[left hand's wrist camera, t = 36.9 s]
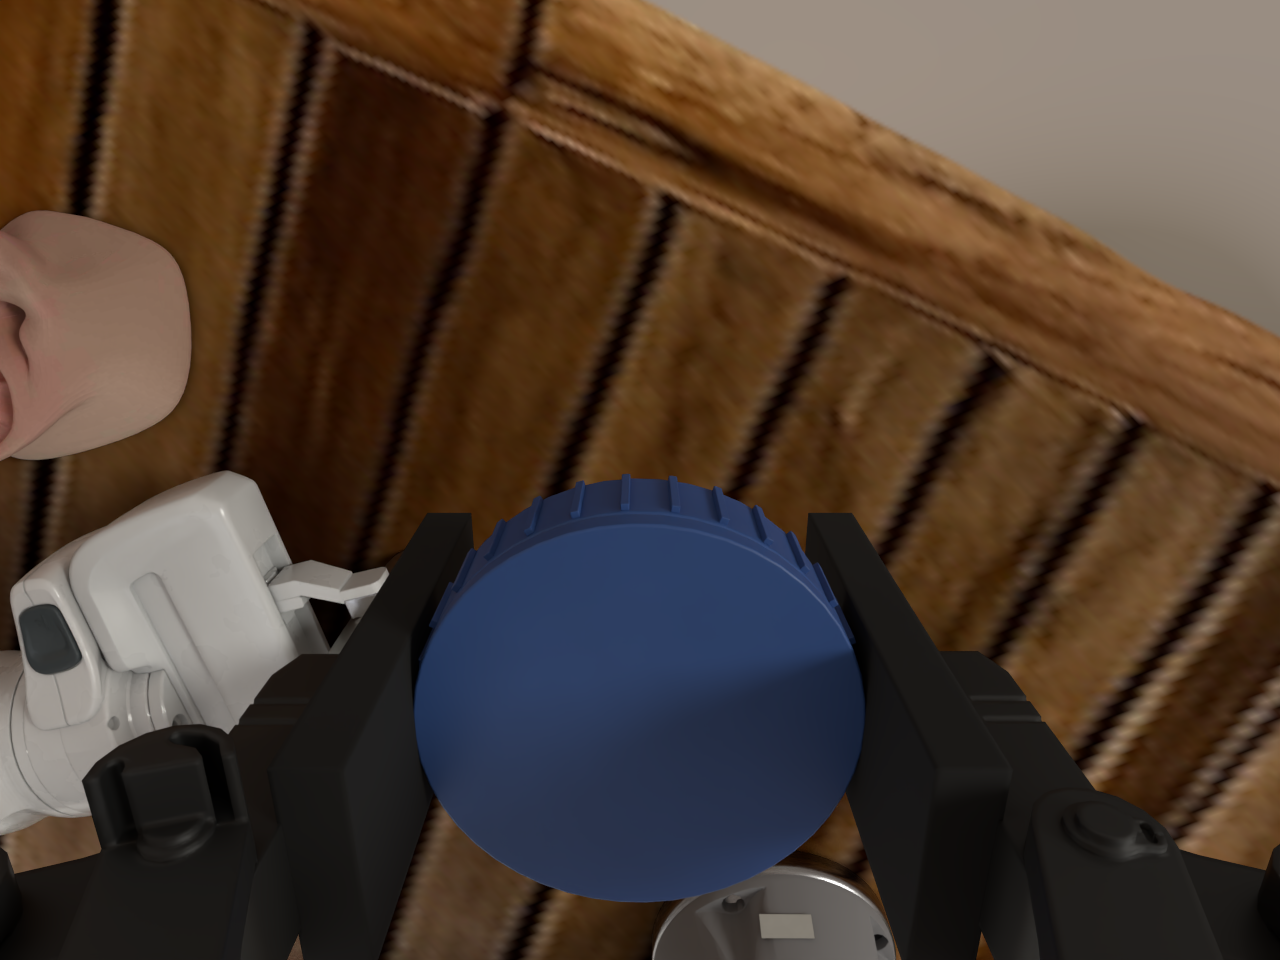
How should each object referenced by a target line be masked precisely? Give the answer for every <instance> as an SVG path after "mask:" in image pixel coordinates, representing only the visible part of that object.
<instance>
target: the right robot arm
mask: <svg viewBox="0 0 1280 960" xmlns="http://www.w3.org/2000/svg"><path fill="white" fill-rule="evenodd" d="M388 575H389V573H388V570H387V568H386V567H379V568H375V569H371V570H366V571H362V572H358V573H352V571H349V570H345V569H342V568H338V567H334V566H331V565H327V564H324V563H320V562H317V561H313V560H309V561H305V562H301V563H297V564H292V562H291V559H290V557H289V555H288V553H287V551H286V548H285V546H284V544H283V542H282V539H281V537H280V535H279V533H278V531H277V528H276V526H275V524H274V522H273V519H272V517H271V515H270V513H269V511H268V508H267V506H266V504H265V502H264V499H263V497H262V495H261V492H260V490H259V488H258V486H257V484H256V483H255V482H254V481H253V480H252V479H250V478H247V477H245V476H243V475H240V474H237V473H234V472H231V471H221V472H217V473H213V474H210V475H206V476H203V477H200V478H197V479H194V480H191V481H189V482H186V483H183V484H181V485H178V486H176V487H173V488H171V489H169V490H166V491H164V492H162V493H160V494H158V495H156V496H154V497H152V498H150V499H148V500H146V501H145V502H143V503H141V504H140V505H138V506H136V507H135V508H133V509H132V510H130V511H128V512H127V513H125V514H123V515H122V516H120V517H119V518H117V519H116V520H114V521H113V522H111V523H110V524H109V525H107V526H104V527H102V528H99V529H97V530H94V531H92V532H90V533H88V534H86V535H83V536H81V537H79V538H78V539H76V540H74V541H72V542H70V543H69V544H67V545H65V546H64V547H62V548H60V549H59V550H57V551H56V552H54V553H53V554H51V555H50V556H49V557H47V558H46V559H45V560H43V561H42V562H41V563H39V564H38V565H37V566H35V567H34V568H33V569H32V570H31V571H29V572H28V573H27V574H26V575H25V576H23V577H22V578H21V579H20V580H19V581H18V582H17V583H16V584H15V585H14V586H13V587H12V589H11V592H10V603H11V608H12V613H13V617H14V621H15V625H16V630H17V634H18V639H19V644H20V649H21V651H15V650H5V651H0V835H5V834H8V833H12V832H15V831H18V830H21V829H24V828H27V827H29V826H31V825H33V824H35V823H37V822H38V821H40V820H42V819H44V818H45V817H47V816H54V817H66V818H75V817H86V816H91V815H92V814H91V811H90V808H89V804H88V801H87V797H86V794H85V791H84V787H83V784H82V779H83V778H84V777H85V776H86V774H87V773H88V772H89V770H90V769H91V768H92V766H93V765H94V764H95V763H96V762H97V761H98V760H100V759H101V758H102V757H104V756H105V755H106V754H108V753H109V752H111V751H112V750H113V749H115V748H116V747H117V746H119V745H121V744H123V743H126V742H128V741H130V740H132V739H134V738H136V737H138V736H141V735H143V734H145V733H148V732H152V731H156V730H159V729H163V728H167V727H171V726H174V725H190V724H203V725H208V726H212V727H217V728H221V729H222V730H223V731H225V732H226V733H227V734H229V732H230V731H231V730H232V728H233V727H234V726H235V725H238V724H239V719H240V717H241V716H242V715H243V713H244V712H245V711H246V709H247V708H248V707H249V705H250V704H253V703H254V698H255V697H256V696H257V694H258V693H259V692H260V690H261V689H262V687H263V686H264V685H265V683H266V682H267V681H268V679H269V678H270V677H271V675H272V674H274V673H275V672H277V671H278V670H279V669H281V668H282V667H284V666H285V665H287V664H288V663H290V662H291V661H292V660H294V659H295V658H297V657H298V656H300V655H301V654H328V652H329V651H330V646H329V644H328V642H327V640H326V637H325V635H324V633H323V631H322V628H321V626H320V624H319V622H318V620H317V617H316V615H315V613H314V611H313V608H312V606H311V604H310V602H309V599H310V598H316V599H321V600H326V601H331V602H336V603H342V604H346V606H347V609H348V611H349V613H350V615H351V617H352V619H353V618H358V617H362V616H363V615H364V613H365V612H366V610H367V609H368V607H369V605H370V604H371V602H372V601H373V599H374V598H375V596H376V594H377V593H378V591H379V590H380V588H381V586H382V585H383V583H384V582H385V580H386V578H387V577H388Z"/></svg>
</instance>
